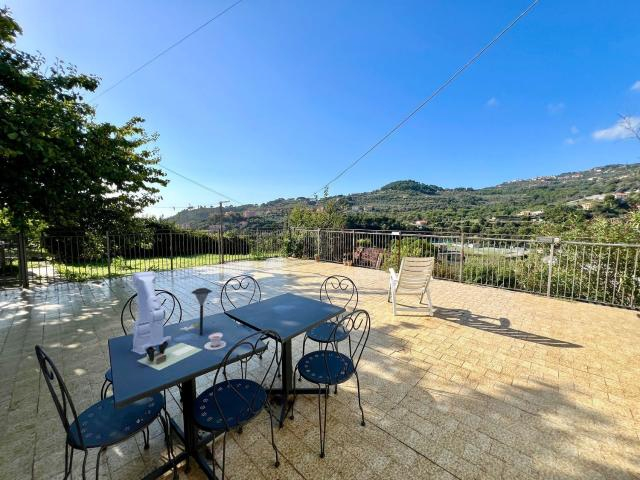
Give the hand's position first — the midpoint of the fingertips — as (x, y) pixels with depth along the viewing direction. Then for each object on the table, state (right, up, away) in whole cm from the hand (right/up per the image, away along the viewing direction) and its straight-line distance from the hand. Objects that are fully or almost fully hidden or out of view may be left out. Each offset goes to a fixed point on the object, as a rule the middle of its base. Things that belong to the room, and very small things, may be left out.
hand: (156, 358), depth 136 cm
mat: (+4, -1, +6) cm, 8 cm away
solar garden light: (+8, 0, +34) cm, 35 cm away
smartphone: (-5, 0, +47) cm, 47 cm away
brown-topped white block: (0, -1, 0) cm, 1 cm away
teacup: (+22, -2, +20) cm, 30 cm away
